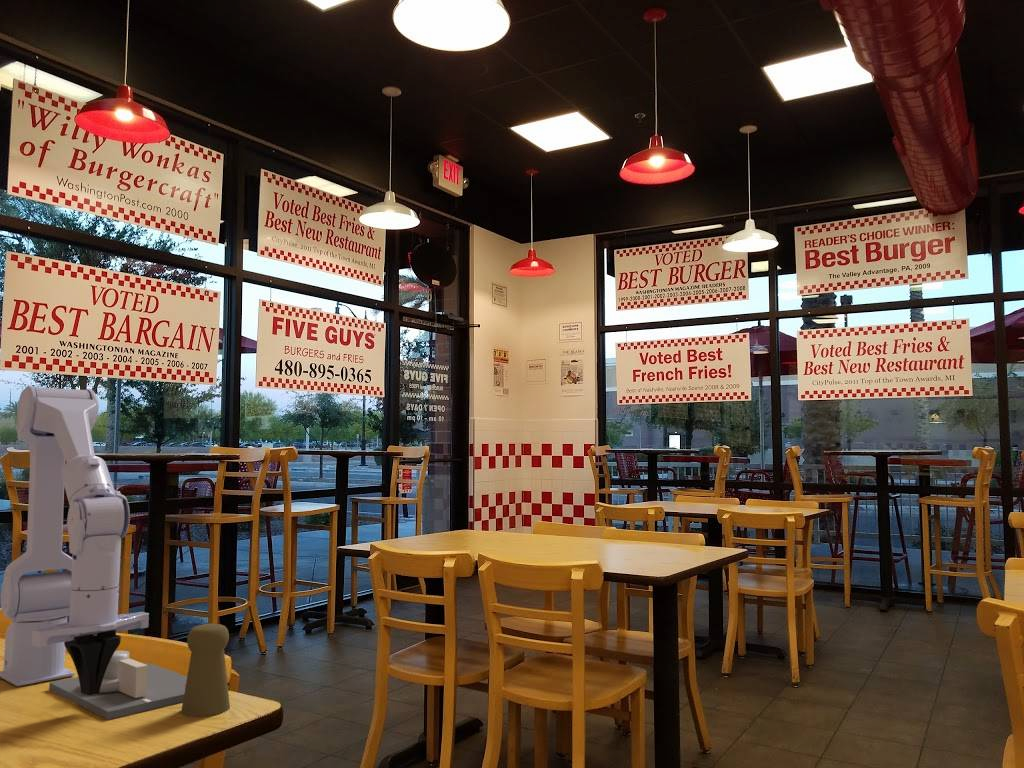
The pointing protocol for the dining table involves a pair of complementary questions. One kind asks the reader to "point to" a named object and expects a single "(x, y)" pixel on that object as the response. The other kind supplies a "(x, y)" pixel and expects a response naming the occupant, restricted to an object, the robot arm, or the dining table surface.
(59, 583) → the robot arm
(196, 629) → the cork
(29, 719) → the dining table surface
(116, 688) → the dial
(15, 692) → the dining table surface
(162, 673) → the dial board
